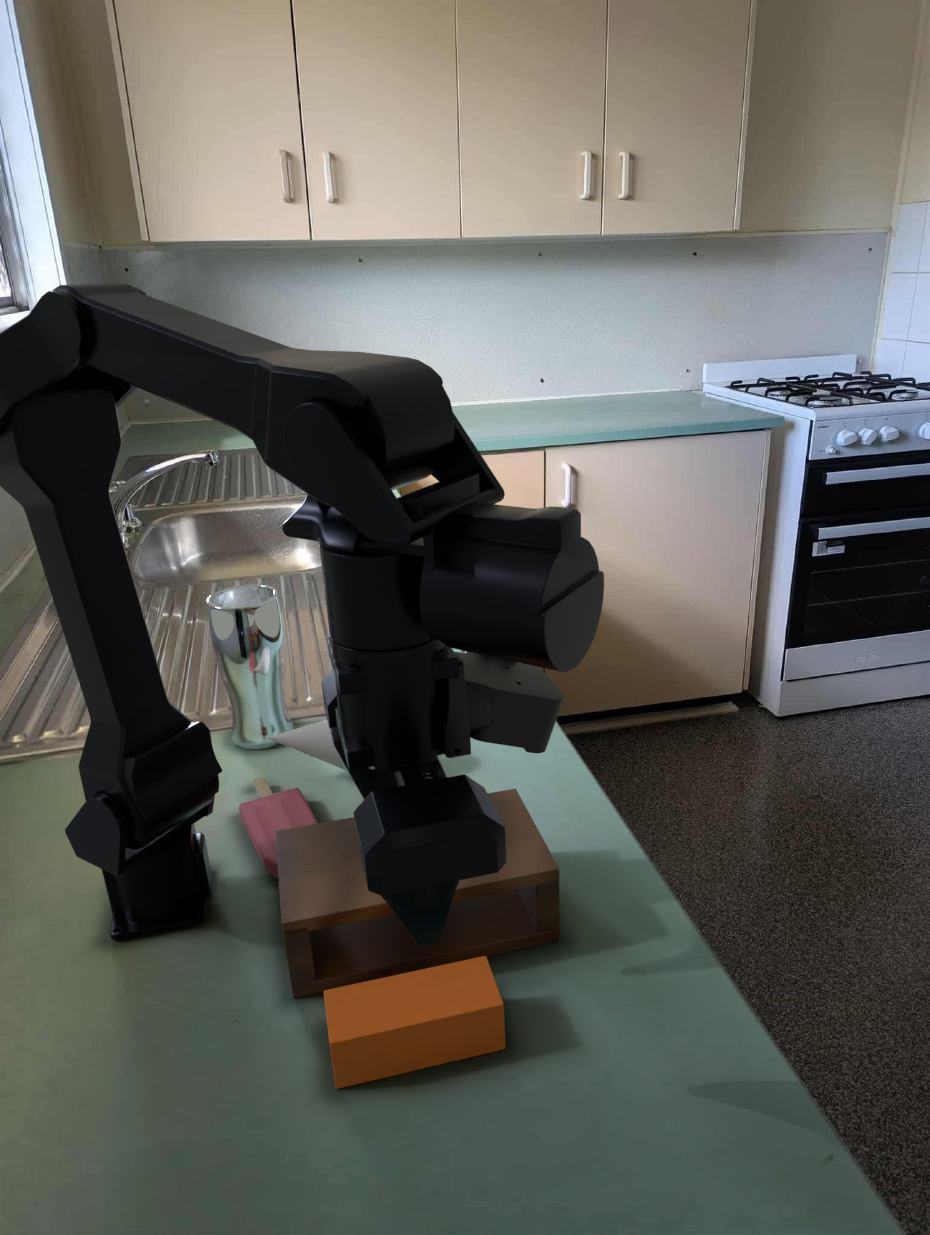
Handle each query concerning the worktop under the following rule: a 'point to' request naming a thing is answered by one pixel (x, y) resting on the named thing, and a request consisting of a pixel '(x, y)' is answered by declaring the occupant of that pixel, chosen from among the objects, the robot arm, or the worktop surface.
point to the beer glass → (251, 661)
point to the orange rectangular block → (413, 1021)
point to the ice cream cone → (312, 742)
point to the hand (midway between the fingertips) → (411, 887)
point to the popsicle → (273, 819)
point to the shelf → (406, 955)
